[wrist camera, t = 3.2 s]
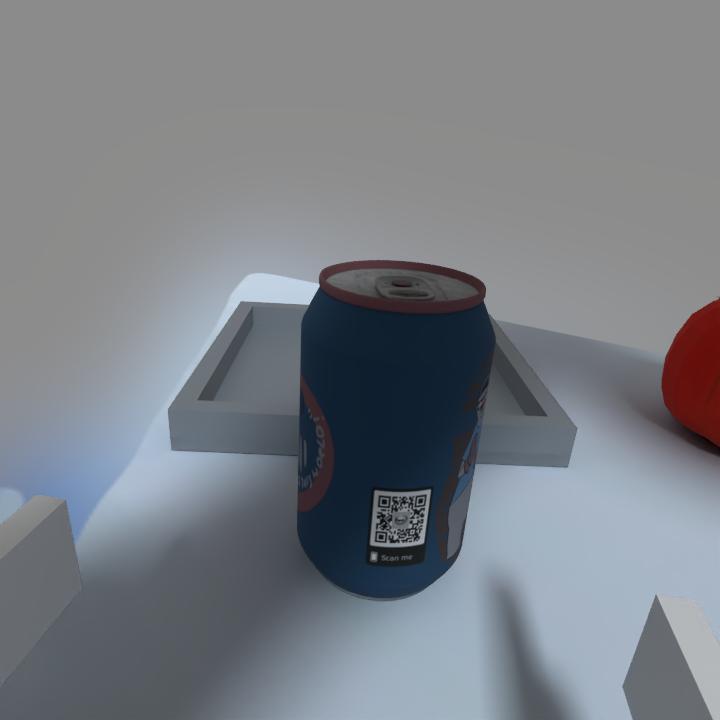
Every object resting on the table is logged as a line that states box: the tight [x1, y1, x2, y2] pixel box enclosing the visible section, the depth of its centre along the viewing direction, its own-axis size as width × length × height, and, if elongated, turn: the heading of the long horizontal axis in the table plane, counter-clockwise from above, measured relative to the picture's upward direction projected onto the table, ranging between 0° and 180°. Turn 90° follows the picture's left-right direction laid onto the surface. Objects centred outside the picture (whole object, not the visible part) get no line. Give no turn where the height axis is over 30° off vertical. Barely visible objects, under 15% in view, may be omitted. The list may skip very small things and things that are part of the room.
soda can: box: [297, 260, 496, 601], centre depth 21 cm, size 7×7×12 cm
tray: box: [168, 301, 577, 467], centre depth 38 cm, size 22×20×2 cm
